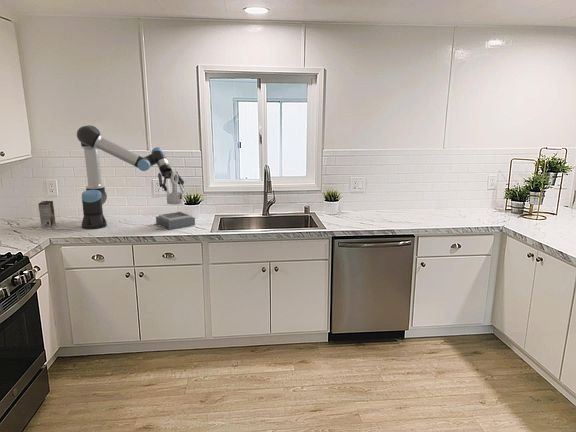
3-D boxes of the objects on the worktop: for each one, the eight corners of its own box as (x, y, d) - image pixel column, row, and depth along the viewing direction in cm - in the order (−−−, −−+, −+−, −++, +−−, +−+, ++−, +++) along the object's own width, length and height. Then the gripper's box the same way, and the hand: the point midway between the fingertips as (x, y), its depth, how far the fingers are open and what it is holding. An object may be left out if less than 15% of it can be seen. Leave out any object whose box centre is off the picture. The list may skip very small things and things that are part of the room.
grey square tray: (156, 223, 291) (155, 214, 290) (181, 219, 303) (181, 210, 302) (168, 229, 277) (168, 219, 276) (195, 225, 290) (194, 215, 288)
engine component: (164, 204, 283) (178, 204, 281) (162, 173, 278) (177, 174, 276) (171, 200, 293) (185, 201, 292) (170, 171, 289) (184, 171, 287)
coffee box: (45, 224, 285) (42, 200, 282) (56, 224, 287) (53, 200, 283) (40, 228, 277) (37, 203, 273) (51, 227, 278) (48, 203, 274)
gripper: (177, 169, 301) (189, 194, 293) (147, 171, 286) (158, 198, 279) (181, 162, 296) (193, 188, 288) (150, 164, 281) (162, 191, 273)
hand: (176, 193), depth 283 cm, fingers closed on engine component, 10 cm apart
